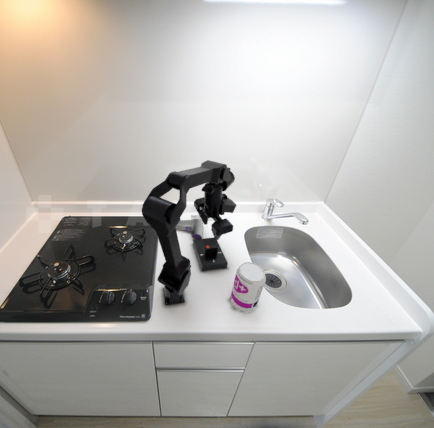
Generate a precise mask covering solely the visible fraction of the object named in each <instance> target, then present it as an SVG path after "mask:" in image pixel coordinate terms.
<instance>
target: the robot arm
mask: <svg viewBox="0 0 434 428" xmlns="http://www.w3.org/2000/svg"><path fill="white" fill-rule="evenodd" d="M235 180H236V177H235V175H234V172H233V171H231V167H228V165H227V164H226V163H221V162H217V161H213V160H210V159H207V160H206V161H202V162H201V164H200V166H197V167H193V168H189V169H188V168H187V169H184V170H179V171H176V170H175V171H170V172H169V174H168V175H167V176H166V178H165V179H164V180H163V181H162V182H160V183H159V184H158V185H155V186H154V187H153V188H152V189H151V190H150V191H149V194H148V195H147V197H146V198H145V200H144V201H143V203H142V207H141V215H142V217H143V219H144V220H145V222H146V223H147V224H148V225H149V226H150V227H151V228H152V229H153V230H154V231H155V232H156V236H157V239H158V241H159V246H160V248H161V252H162V255H163V257H164V261H165V262H164V263H163V264H162V269H161V270H160V272H159V275H158V277H157V282H158V283H160V284H162V285H163V286H164V287H163V288H162V292H163V301H164V305H165V306H171V305H177V304H184V303H185V296H184V292H185V290H186V289H187V288H188V286H189V283H190V280H191V277H192V265H191V259H190V258H188V257H186V256H184V255H182V250H181V246H180V242H179V241H180V240H179V237H178V233H177V229H176V226H177V224H178V223H179V222H180V220H181V217H182V215H183V214H184V212H185V210H186V209H187V195H188V192H189V191H190V189H193V188H195V187H199V186H201V185H203V187H202V188H201V192H204V195H203V197H198V198H196V199H195V200H194V201H193V207H194V208H195V210H196V212H197V214H198V215H199V217H200V219H201V220H202V221H203V226H204V225H207V224H208V222H209V219H212V220H213V221H214V222H212V223H211V224H210V225H211V229H210V231H211V233H212V235H213V237H214V238H215V240H217V241H218V240H220V239H221V236H222V235H226V234H229V233H231V232H232V233H233V231H234V225H233V224H232V223H231V221H230V220H229V219H228V218H226V217H225V218H222V217H221V216H224V215H225V213H230V214H233V213H234V211H235V210H236V207H237V204H236V202H235V201H233V200H232V199H231V198H229V197H228V195H227V194H226V193H224V192H226V191H227V190H228V188H229V187H231V186H232V184H233V183H234V182H235ZM172 190H177V191H179V199H178V200H177V202H176V203H175V202H172V201H170V200H167V199H165V198H162V197H163V196H165V195H166V194H167V193H169V192H170V191H172Z"/></svg>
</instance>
